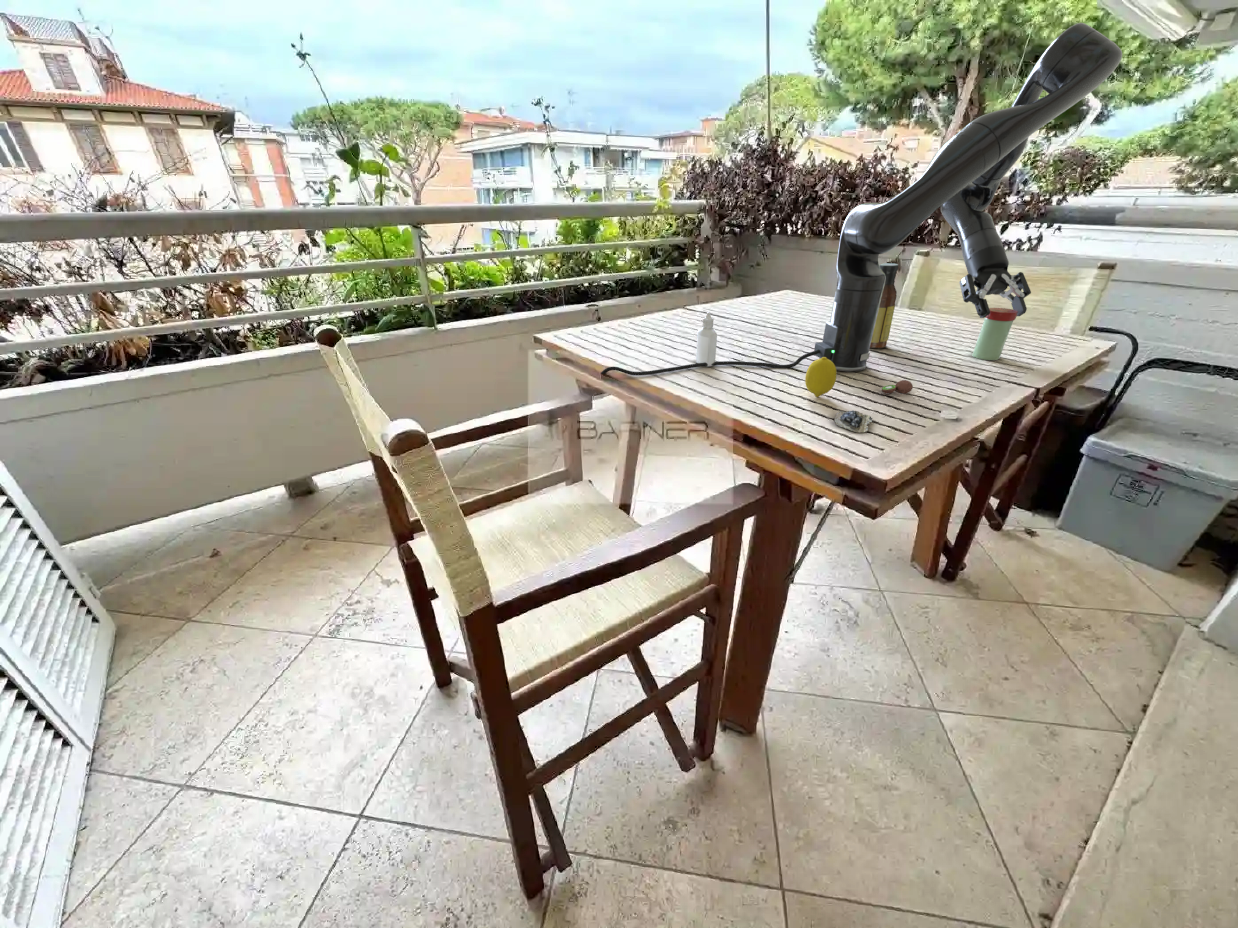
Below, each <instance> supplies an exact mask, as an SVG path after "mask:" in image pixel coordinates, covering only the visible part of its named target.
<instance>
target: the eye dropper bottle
mask: <svg viewBox="0 0 1238 928" xmlns="http://www.w3.org/2000/svg"><path fill="white" fill-rule="evenodd" d="M714 320H715V319H714V318H713V317H712V315H711V311H707V312H706V314H705V317H703V318H702V324H701V325H702V327H701V328H699V329H698V330H697V333H696V334H697V336H696V350H695V351H696V352H695V362H696V364H697V363H707V364H708V365H707V366H705V367H708V368H709V367H714V366H713V365H712V364H713V363H714V362H716V356H717V343H718V333H717V332H716V330H715V329H714Z"/></svg>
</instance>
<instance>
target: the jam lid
mask: <svg viewBox="0 0 1238 928" xmlns="http://www.w3.org/2000/svg"><path fill="white" fill-rule="evenodd" d="M989 310H990V314H989V315H988V316H986V317H985V318H987V319H991V320H998V321H1013V320H1014V321H1015V320H1016V318H1017V317H1018V316H1017V313H1018V311H1016V310H1013V308H1005V307H989ZM985 318H984V319H985ZM1014 321H1013V322H1014Z"/></svg>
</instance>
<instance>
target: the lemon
mask: <svg viewBox="0 0 1238 928" xmlns="http://www.w3.org/2000/svg"><path fill="white" fill-rule="evenodd" d="M837 373H838V372H837V370H836V367H835V365H834V363H833V362H832V361H830V360H829V359H827V358H826V357H822V358H821V359H819V358H818V359H815V360H814V361H812V362H811V363H810V364H809V366H808V368H807V370H806V373H805V377H804V378H805V379H804V384H805V387H806V389H807V390H808V391H809V392H810V393H811V394H813V395H814V396H815V397H816V398H819V397H820V396H822V395H826V394H828V393H829V392H830V391H831V390H832V389H833V388H834V386H835V384H836V381H837Z"/></svg>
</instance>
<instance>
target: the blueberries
mask: <svg viewBox="0 0 1238 928" xmlns="http://www.w3.org/2000/svg"><path fill="white" fill-rule="evenodd" d="M833 420H834V422H835V426H836V425H837V426H838V427H840V428H844V429H846V430H849V431H850V432H854V433H858V434H860V433H866V432H868V430H869V426H868V425H871V422H873V417H872V416H870V415H868V414H863V412H860V411H858V410H853V409H852V410H847V411H845V410H838V412H837V413H836V414H835V416H834V419H833Z"/></svg>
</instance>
